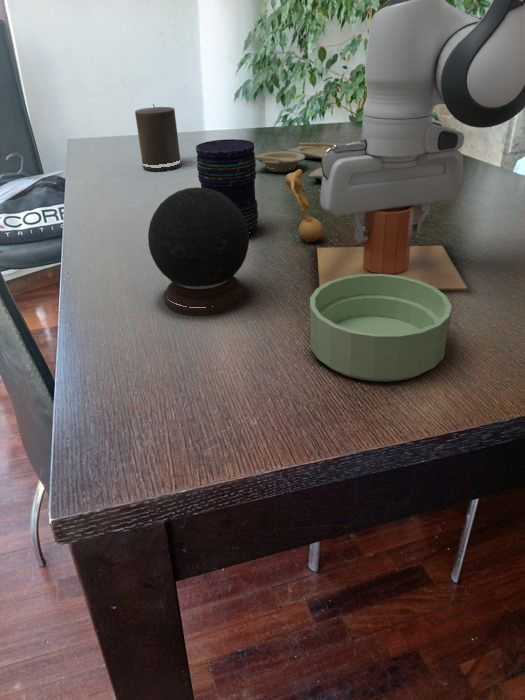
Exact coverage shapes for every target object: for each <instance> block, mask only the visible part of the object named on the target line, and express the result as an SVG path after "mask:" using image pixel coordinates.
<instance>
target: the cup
mask: <svg viewBox="0 0 525 700" xmlns="http://www.w3.org/2000/svg"><path fill="white" fill-rule="evenodd" d="M414 213H415V207H414V206H406V207H399V208H392V209H385V210H377V211H370V212H364V223H363V224H364V227H366V228H367V229H369V230H370V232H369V236H368V237H369V241H365V242H362V243H363V244H362V247H363V259H362V264H363V267H364V268H365V269H367V270H369V271H371V272H375V273H380V274H395V273H399V272H403V271H405V270H406V269H407V268H408V265H409V256H410V246H412V236H413V234H412V226H413V216H414Z"/></svg>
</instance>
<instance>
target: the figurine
mask: <svg viewBox="0 0 525 700" xmlns="http://www.w3.org/2000/svg"><path fill="white" fill-rule="evenodd" d="M303 176H304V173H303V170H302V169H301V168H298V169H297V170H295V171H293V172H288V174H286V176H285V183H286V184H287V186H288V188H289V189H290V191H291V192H292V194H293V195H294V198H295V199H296V201H297V203H298V206H299V208H301V210H300V212H301V213H300V214H301V216H302V217H303V220H301V222H300V224H299V227H298V234H299V237H300V238H301V239H302V240H303V241H305V242H307V243H314V242H316V241H318V240H319V239H320V238H321V237H322V235H323V225H322V223H321V221H319V220H318V219H317V218H314V217H313V216H312V215H309V214H308V213H307V210H308V209H309V208H310V202H311V201H310V199H309V198H308V197H307V196H306V195H305V194H306V193H307V191H306V189H305V187H303V185H302V184H303V183H302V177H303Z"/></svg>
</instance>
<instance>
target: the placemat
mask: <svg viewBox="0 0 525 700" xmlns="http://www.w3.org/2000/svg"><path fill="white" fill-rule="evenodd" d="M316 256H317V270H318V283H319V285H318V287H320V286H322V285H323V284H325V283H327V282H329V281H332V280H335V279H338V278H341V277H346V276H352V275H359V274H380V273H375V272H371V271H369V270H367V269H365V268H364V267H363V264H362V259H363V246H346V247H345V246H341V247H340V246H339V247H337V246H336V247H335V246H334V247H332V246H331V247H330V246H329V247H316ZM388 275H397V276H403V277H407V278H411V279H415V280H419V281H422V282H424V283H426V284H429V285H431V286H433V287H435V288H437V289H438V290H439V291H441V292H467V291H468V286H467V285H466V283H465V282H464V280H463V279H462V277H461V275H460V273H459V271H458V270H457V268H456V266H455V265H454V263H453V261H452V260H451V258H450V256H449V255H448V253H447V251H446V249H445V247H444V246H443V245H411V246H410V256H409V265H408V268H407V269H406V270H405V271H403V272H399V273H395V274H388Z"/></svg>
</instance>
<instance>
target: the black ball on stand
mask: <svg viewBox="0 0 525 700" xmlns="http://www.w3.org/2000/svg"><path fill="white" fill-rule="evenodd" d="M147 238H148V241H147V242H148V249H149V252H150V256H151V259H152V260H153V262H154V264H155V266H156V268H157V269H158V270H159V271H160V272H161V274H162V275H164V276H165V277H166V278H167V279H168V280H170V281H171V282H170V283H169V284H168V286H167V288H166V290H165V291H164V293H163V301H164V304H165V306H166V308H167V309H169V310H171V311H172V312H173V313H177V314H180V315H184V316H193V317H195V316H196V317H197V316H199V317H201V316H203V317H205V316H213V315H217V314H222V313H225V312H228V311H230V310H232V309H235V308H236V307H238V306H239V305H240V304H242V303H243V301H244V300H245V297H246V292H245V291H246V290H245V286H244V285H243V284H242V283H241V281H240V280H239V279H238V278H237V277H236V276H235V275H236V274H237V273H238V272H239V270H240V269H241V268H242V266H243V264H244V262H245V260H246V258H247V255H248V250H249V244H250V243H249V241H250V239H249V234H248V227H247V225H246V222H245V219H244V217H243V215H242V213H241V211H240V210H239V208H238V207H237V206H236V205H235V204H234V203H233V202H232V201H231V200H230V199H229V198H227V197H226V196H224V195H223V194H221V193H220V192H217V191H214V190H212V189H208V188H201V187H189V188H185V189H181V190H178V191H175V192H174V193H172V194H171V195H168V197H166V198H165V199H164V200H163V201H162V202H161V203H160V204H159V205H158V206H157V208H156V210H155V211H154V212H153V214H152V217H151V220H150V222H149V227H148V235H147ZM166 296H167V297H166ZM167 298H168V299H169V300H170V301H172V302H174V303H177V304H180V305H183V306H187V307H183V306H179V305H176V304H174V303H172V302H170V301H169V300H168V299H167ZM212 306H213V307H212ZM189 307H206V308H189Z"/></svg>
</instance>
